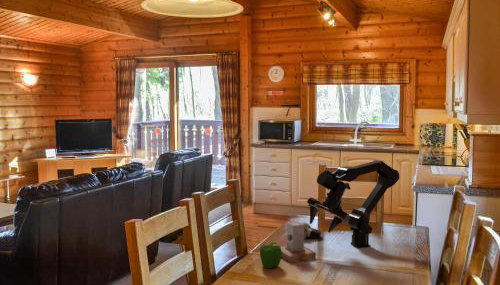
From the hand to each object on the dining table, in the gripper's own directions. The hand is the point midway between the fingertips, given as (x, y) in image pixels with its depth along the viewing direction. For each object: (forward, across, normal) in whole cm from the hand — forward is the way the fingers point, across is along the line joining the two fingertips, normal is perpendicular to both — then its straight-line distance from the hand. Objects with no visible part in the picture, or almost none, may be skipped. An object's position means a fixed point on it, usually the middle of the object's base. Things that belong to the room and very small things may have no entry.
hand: (319, 228), depth 204 cm
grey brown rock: (+5, +14, -21) cm, 26 cm away
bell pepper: (+23, +3, +17) cm, 29 cm away
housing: (+13, +4, +4) cm, 14 cm away
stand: (+15, +3, +3) cm, 15 cm away
